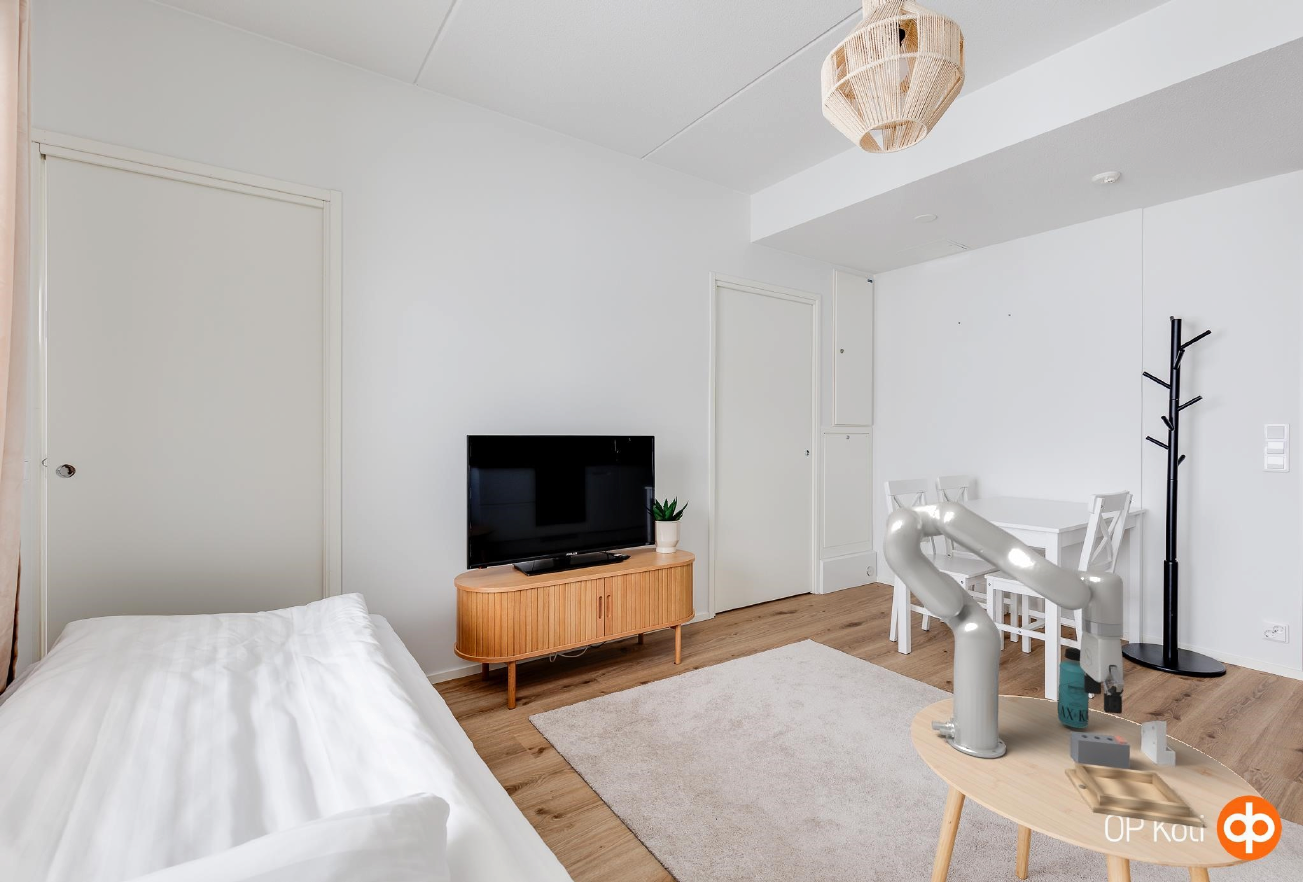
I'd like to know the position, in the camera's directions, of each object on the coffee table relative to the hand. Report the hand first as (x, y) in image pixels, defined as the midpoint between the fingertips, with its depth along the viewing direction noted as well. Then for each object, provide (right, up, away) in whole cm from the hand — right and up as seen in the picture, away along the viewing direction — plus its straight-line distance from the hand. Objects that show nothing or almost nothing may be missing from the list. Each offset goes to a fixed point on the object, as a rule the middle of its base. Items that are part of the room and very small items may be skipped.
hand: (1102, 702), depth 136 cm
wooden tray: (-4, -14, -12) cm, 19 cm away
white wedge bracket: (+15, -14, +3) cm, 21 cm away
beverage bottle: (+5, -14, +17) cm, 22 cm away
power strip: (0, -14, +1) cm, 14 cm away
